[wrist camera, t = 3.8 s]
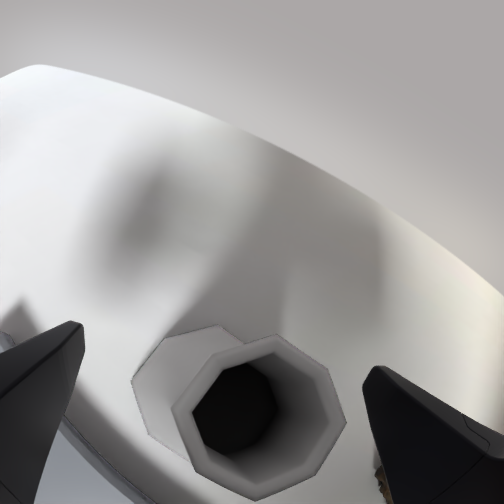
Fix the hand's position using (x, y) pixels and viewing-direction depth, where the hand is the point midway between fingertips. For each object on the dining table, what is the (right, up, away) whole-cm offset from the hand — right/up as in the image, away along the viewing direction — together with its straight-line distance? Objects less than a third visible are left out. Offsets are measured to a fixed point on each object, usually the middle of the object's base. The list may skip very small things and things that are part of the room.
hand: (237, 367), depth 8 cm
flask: (-2, -4, +6) cm, 7 cm away
